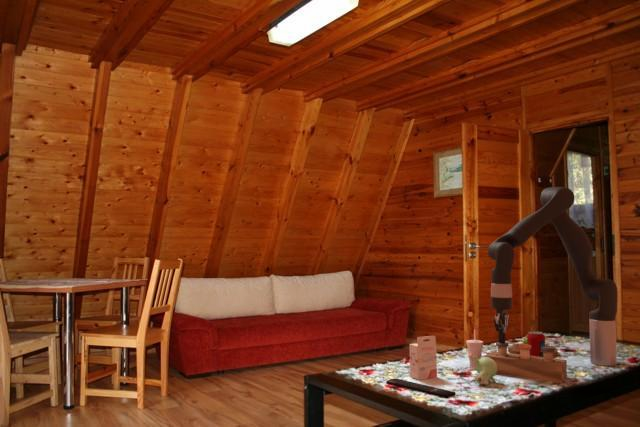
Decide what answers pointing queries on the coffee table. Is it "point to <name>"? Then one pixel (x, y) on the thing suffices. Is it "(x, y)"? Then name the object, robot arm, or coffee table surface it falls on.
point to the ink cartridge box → (423, 358)
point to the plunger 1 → (502, 348)
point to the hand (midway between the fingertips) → (502, 342)
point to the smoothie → (474, 349)
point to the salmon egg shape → (524, 351)
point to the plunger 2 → (548, 353)
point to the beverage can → (536, 343)
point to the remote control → (421, 388)
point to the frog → (483, 369)
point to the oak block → (530, 367)
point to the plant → (516, 350)
